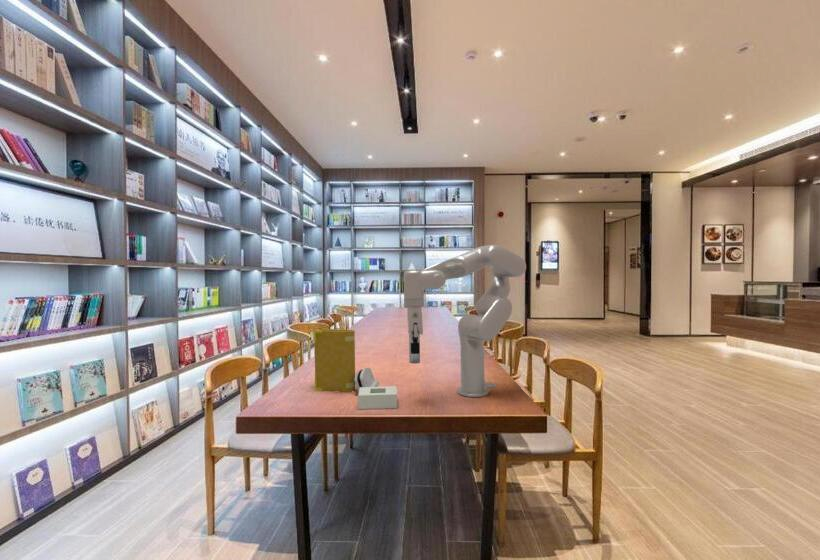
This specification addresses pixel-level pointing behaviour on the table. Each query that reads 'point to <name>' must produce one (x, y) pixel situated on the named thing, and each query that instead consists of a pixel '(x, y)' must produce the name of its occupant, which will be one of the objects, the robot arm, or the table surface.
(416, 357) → the pin
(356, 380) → the hinge
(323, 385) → the book
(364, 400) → the socket block
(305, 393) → the table surface
